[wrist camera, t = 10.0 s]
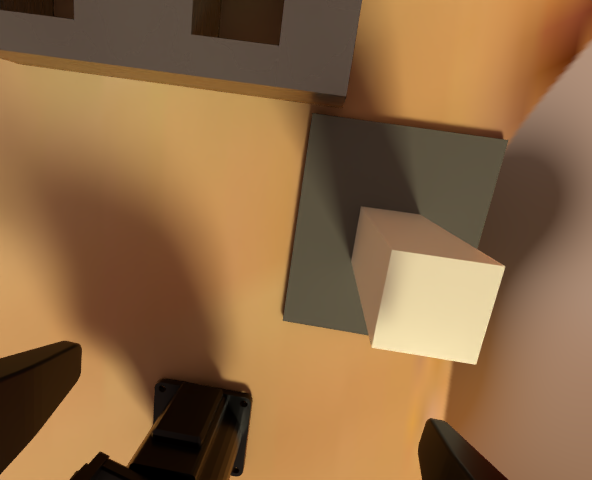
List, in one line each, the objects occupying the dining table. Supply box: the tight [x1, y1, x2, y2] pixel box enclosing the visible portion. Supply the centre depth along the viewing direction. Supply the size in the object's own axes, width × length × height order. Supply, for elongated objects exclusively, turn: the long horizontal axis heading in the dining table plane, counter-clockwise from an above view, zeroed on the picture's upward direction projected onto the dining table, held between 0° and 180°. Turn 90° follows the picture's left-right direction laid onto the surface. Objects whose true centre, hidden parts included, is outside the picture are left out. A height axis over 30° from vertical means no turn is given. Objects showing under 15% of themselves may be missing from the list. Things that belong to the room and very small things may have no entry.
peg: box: [351, 206, 505, 364], centre depth 14 cm, size 3×3×9 cm
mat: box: [283, 113, 508, 335], centre depth 19 cm, size 12×10×1 cm
